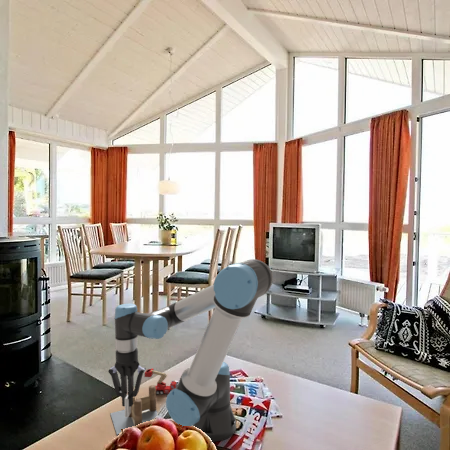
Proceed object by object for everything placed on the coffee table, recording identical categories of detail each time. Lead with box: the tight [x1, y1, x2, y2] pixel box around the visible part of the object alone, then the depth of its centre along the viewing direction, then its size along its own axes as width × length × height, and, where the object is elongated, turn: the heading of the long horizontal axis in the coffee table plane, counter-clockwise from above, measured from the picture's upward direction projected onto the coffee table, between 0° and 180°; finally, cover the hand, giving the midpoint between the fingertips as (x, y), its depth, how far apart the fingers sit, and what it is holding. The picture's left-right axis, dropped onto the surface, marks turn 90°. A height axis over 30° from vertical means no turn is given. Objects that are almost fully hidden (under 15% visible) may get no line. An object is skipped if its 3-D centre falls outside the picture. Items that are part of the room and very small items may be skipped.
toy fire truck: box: [144, 368, 178, 395], centre depth 149 cm, size 3×14×10 cm, turn 84°
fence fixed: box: [129, 384, 157, 417], centre depth 133 cm, size 3×11×9 cm, turn 116°
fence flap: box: [131, 396, 142, 426], centre depth 128 cm, size 3×11×9 cm, turn 32°
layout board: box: [110, 409, 158, 436], centre depth 130 cm, size 15×16×1 cm
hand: (127, 414), depth 124 cm, fingers closed
